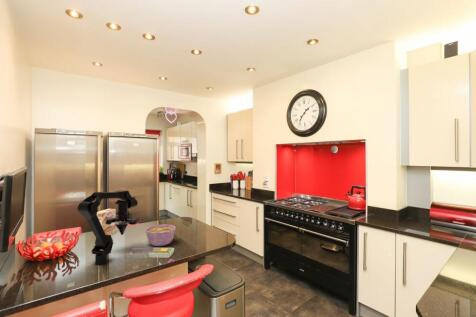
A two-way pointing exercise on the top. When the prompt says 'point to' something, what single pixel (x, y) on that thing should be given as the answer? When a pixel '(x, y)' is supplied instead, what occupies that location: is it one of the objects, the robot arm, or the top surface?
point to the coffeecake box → (104, 216)
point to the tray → (162, 255)
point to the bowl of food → (160, 234)
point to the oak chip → (157, 250)
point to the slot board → (139, 253)
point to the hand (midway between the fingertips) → (122, 234)
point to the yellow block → (164, 250)
